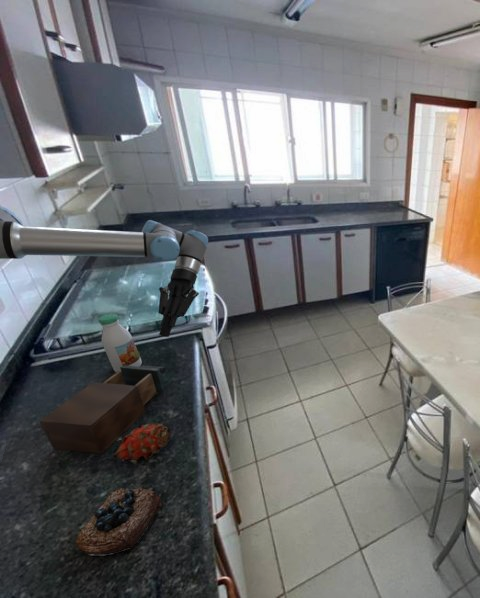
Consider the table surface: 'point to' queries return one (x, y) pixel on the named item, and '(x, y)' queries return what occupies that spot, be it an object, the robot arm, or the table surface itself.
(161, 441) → the dragon fruit
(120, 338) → the milk bottle
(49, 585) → the table surface
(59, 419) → the cabinet
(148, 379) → the drawer
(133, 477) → the table surface
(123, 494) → the pastry
